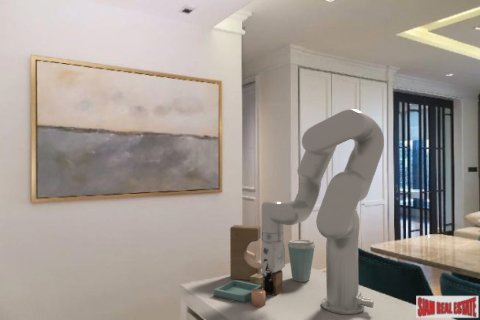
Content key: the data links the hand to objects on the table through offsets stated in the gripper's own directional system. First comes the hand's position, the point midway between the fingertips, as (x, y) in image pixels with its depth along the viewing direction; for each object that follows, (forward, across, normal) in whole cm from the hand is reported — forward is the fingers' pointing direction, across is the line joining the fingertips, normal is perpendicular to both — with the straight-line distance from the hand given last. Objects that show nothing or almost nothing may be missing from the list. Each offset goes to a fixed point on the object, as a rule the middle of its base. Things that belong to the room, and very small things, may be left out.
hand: (272, 289), depth 120 cm
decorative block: (+1, +8, +16) cm, 18 cm away
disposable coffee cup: (+1, +18, -3) cm, 18 cm away
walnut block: (+1, 0, 0) cm, 1 cm away
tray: (+1, -8, +9) cm, 12 cm away
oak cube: (+1, +2, +7) cm, 7 cm away
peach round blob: (+1, -12, -1) cm, 12 cm away
